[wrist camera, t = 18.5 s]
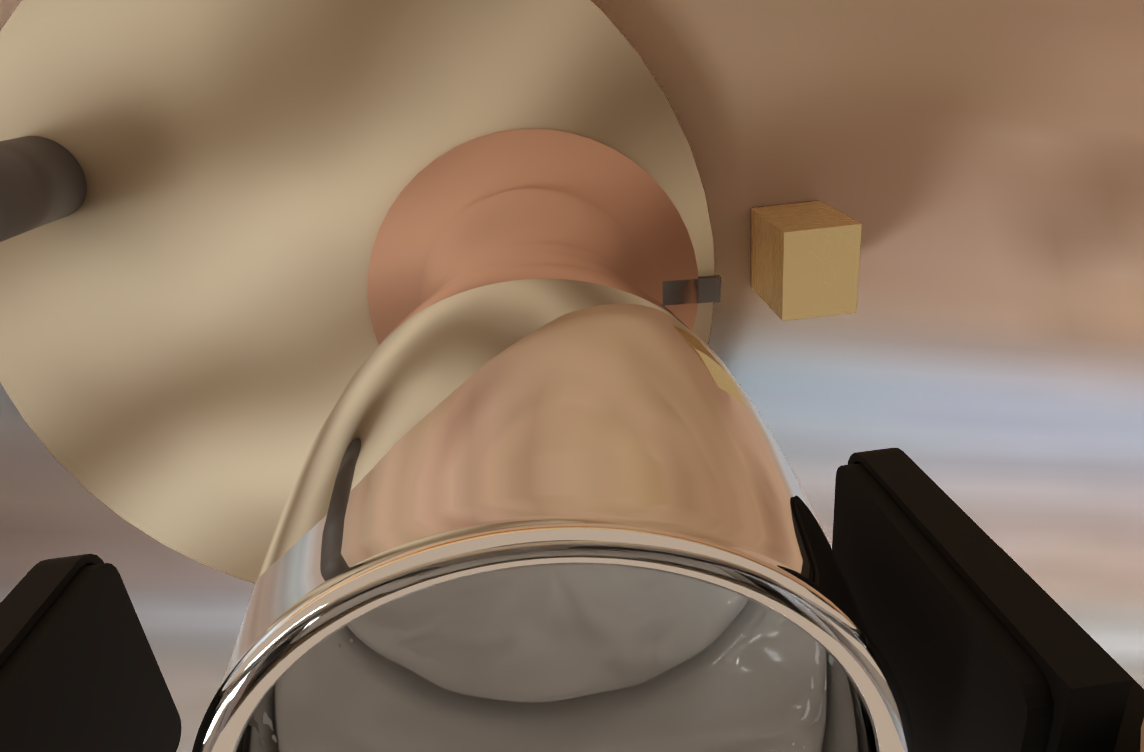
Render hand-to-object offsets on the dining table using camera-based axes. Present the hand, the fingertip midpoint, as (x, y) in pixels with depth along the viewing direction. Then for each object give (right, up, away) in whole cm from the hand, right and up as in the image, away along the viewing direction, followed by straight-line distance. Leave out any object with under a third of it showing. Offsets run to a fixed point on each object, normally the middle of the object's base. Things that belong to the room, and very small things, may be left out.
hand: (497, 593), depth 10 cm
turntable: (-5, +5, +12) cm, 14 cm away
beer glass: (0, +5, +11) cm, 12 cm away
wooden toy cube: (+7, +7, +12) cm, 16 cm away
